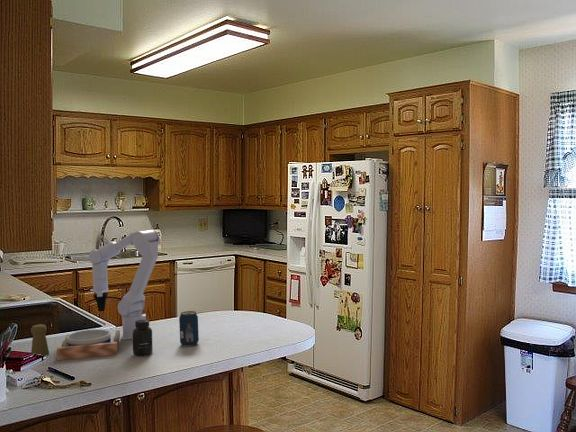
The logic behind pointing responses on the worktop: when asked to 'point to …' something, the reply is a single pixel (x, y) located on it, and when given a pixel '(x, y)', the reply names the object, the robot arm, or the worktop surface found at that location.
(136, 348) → the supplement bottle
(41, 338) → the cork
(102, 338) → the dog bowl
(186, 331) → the soda can
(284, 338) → the worktop surface
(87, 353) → the wooden tray
